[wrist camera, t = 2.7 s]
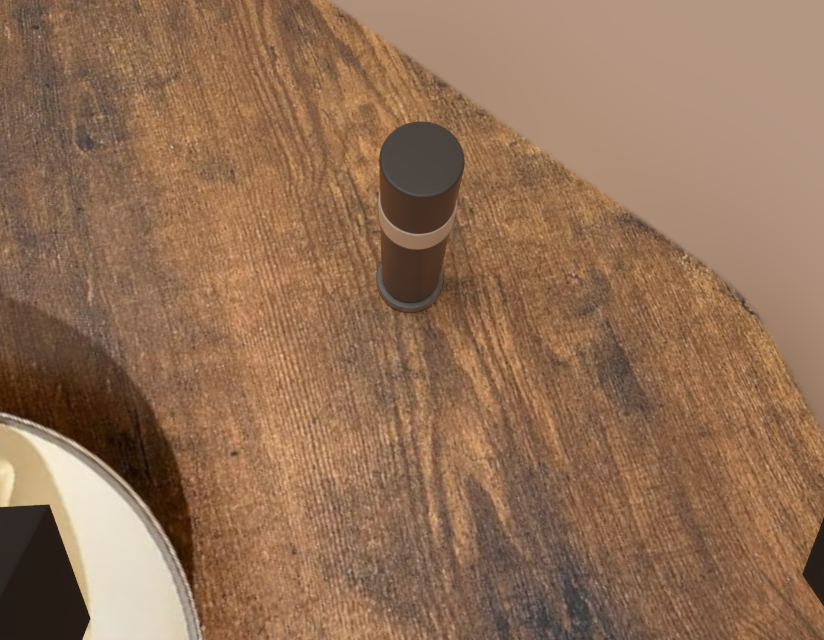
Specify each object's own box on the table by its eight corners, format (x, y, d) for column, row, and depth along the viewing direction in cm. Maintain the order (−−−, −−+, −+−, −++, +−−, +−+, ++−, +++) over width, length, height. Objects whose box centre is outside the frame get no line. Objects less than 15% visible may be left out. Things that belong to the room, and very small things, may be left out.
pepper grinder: (440, 249, 28) (468, 112, 18) (444, 311, 27) (476, 203, 18) (375, 251, 28) (369, 114, 18) (378, 314, 27) (373, 206, 18)
